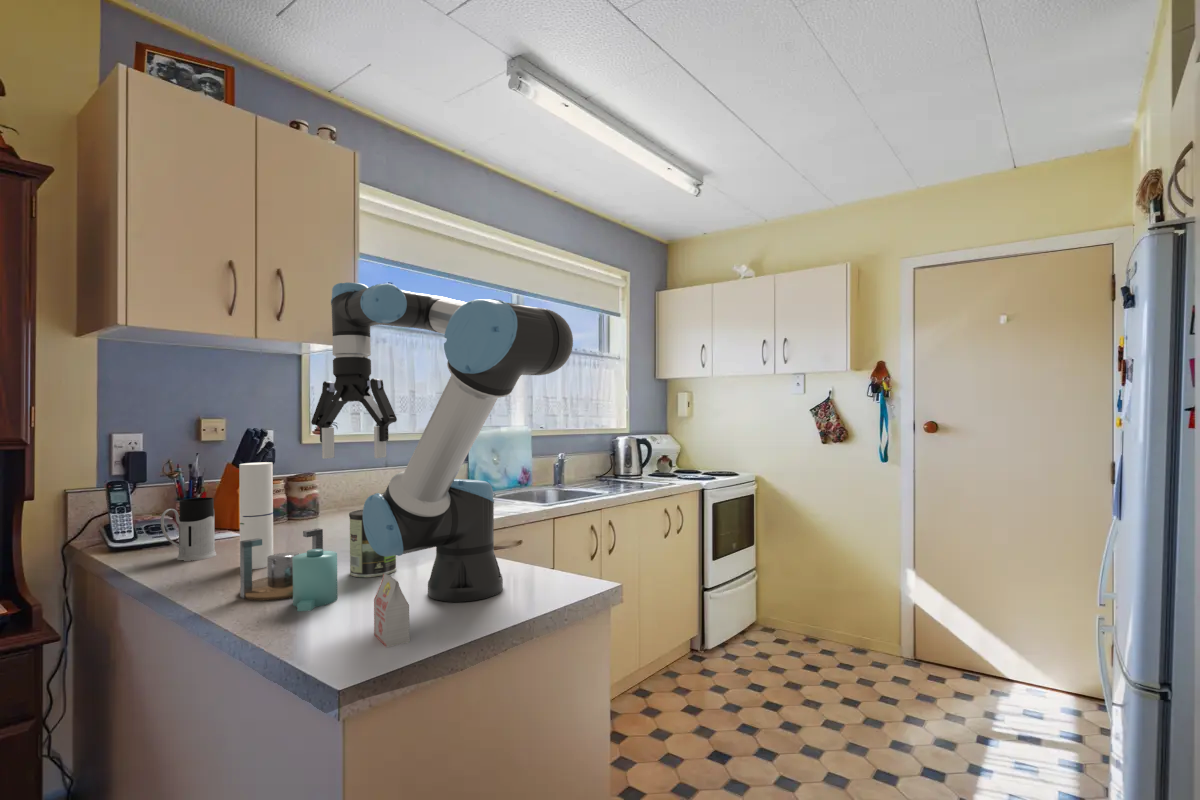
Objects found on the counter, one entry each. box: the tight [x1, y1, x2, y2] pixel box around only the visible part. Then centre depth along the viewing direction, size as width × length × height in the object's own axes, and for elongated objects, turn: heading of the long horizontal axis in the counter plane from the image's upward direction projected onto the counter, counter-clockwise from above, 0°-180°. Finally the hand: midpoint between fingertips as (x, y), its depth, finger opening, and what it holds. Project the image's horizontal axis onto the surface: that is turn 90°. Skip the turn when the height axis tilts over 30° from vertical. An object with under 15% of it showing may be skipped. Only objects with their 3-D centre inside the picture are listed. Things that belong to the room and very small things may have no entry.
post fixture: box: [239, 527, 324, 602], centre depth 130 cm, size 16×16×11 cm
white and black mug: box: [160, 497, 217, 562], centre depth 158 cm, size 9×14×15 cm, turn 166°
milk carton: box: [373, 573, 411, 648], centre depth 101 cm, size 4×7×10 cm, turn 36°
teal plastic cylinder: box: [292, 548, 338, 612], centre depth 121 cm, size 8×12×10 cm, turn 6°
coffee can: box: [348, 509, 397, 578], centre depth 143 cm, size 10×10×14 cm
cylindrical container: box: [238, 461, 274, 570], centre depth 151 cm, size 7×7×25 cm
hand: (354, 458), depth 129 cm, fingers open, 13 cm apart
